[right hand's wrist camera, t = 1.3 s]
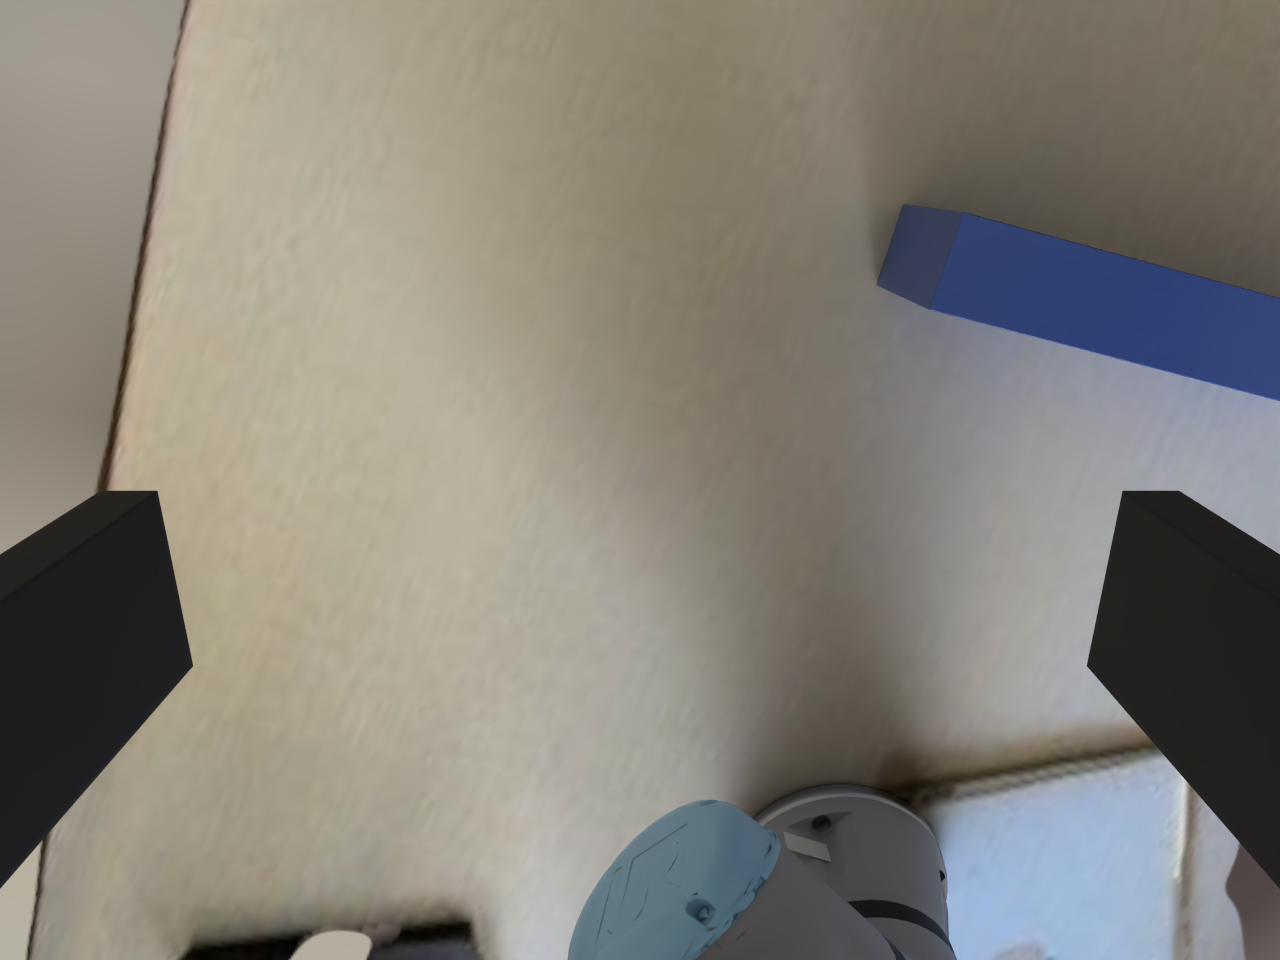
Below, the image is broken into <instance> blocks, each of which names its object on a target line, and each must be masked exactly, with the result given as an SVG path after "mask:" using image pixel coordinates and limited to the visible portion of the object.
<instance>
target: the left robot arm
mask: <svg viewBox="0 0 1280 960" xmlns="http://www.w3.org/2000/svg"><path fill="white" fill-rule="evenodd" d="M946 898H947V874H946V869H945V865H944V861H943V857H942V853H941V851H940V848H939V846H938V844H937V841H936V839H935V837H934V835H933V833H932V831H931V829H930V827H929V826H928V824H927V823H926V821H925V820H924V819H923V817H922V816H921V815H920V814H919V813H918V812H917V811H916V810H915V809H914V808H912V807H911V806H910V805H909V804H907V803H906V802H904V801H903V800H901V799H899V798H897V797H896V796H894V795H891V794H889V793H887V792H884V791H881V790H878V789H875V788H871V787H866V786H860V785H849V784H834V785H824V786H818V787H813V788H809V789H805V790H802V791H799V792H796V793H793V794H791V795H789V796H786V797H784V798H782V799H780V800H779V801H777V802H775V803H773V804H772V805H770V806H769V807H767V808H766V809H764V810H763V811H762V812H761V813H760V814H758V815H757V816H756V817H755V818H754V819H752V818H751V817H750V816H749V815H747V814H746V813H745V812H744V811H742V810H741V809H740V808H738V807H737V806H735V805H733V804H731V803H724V802H719V801H716V800H701V801H696V802H693V803H690V804H687V805H684V806H681V807H679V808H677V809H675V810H673V811H671V812H669V813H668V814H666V815H664V816H663V817H661V818H660V819H658V820H657V821H655V822H654V823H653V824H652V825H650V826H649V827H648V828H647V829H645V830H644V831H643V832H642V833H641V834H639V835H638V836H637V837H636V838H635V839H634V840H633V841H632V842H631V843H630V844H629V845H628V846H627V847H626V848H625V849H624V850H623V851H622V852H621V854H620V855H619V856H618V857H617V858H616V859H615V861H614V862H613V863H612V865H611V866H610V867H609V869H608V870H607V871H606V872H605V873H604V875H603V876H602V878H601V879H600V880H599V882H598V884H597V885H596V887H595V888H594V890H593V891H592V893H591V895H590V896H589V898H588V900H587V902H586V904H585V906H584V908H583V909H582V912H581V914H580V916H579V918H578V921H577V923H576V926H575V929H574V932H573V935H572V938H571V942H570V947H569V953H568V960H957V959H956V956H955V954H954V951H953V949H952V946H951V944H950V941H949V932H948V910H947V904H946Z"/></svg>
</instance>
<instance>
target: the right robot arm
mask: <svg viewBox="0 0 1280 960" xmlns="http://www.w3.org/2000/svg"><path fill="white" fill-rule="evenodd" d="M192 667H193V663H192V658H191V653H190V648H189V643H188V638H187V634H186V629H185V624H184V619H183V614H182V609H181V604H180V599H179V594H178V589H177V585H176V580H175V575H174V570H173V565H172V560H171V555H170V550H169V545H168V541H167V536H166V531H165V526H164V521H163V516H162V511H161V506H160V501H159V497H158V492H157V491H100V492H98V493H97V494H95V495H94V496H92V497H90V498H89V499H87V500H86V501H84V502H83V503H81V504H79V505H78V506H76V507H75V508H73V509H72V510H70V511H68V512H67V513H65V514H64V515H62V516H60V517H59V518H57V519H56V520H54V521H53V522H51V523H49V524H48V525H46V526H45V527H43V528H41V529H40V530H38V531H37V532H35V533H33V534H32V535H30V536H29V537H27V538H26V539H24V540H22V541H21V542H19V543H18V544H16V545H15V546H13V547H11V548H10V549H8V550H7V551H5V552H3V553H2V554H0V888H1V887H2V886H3V885H4V884H5V882H6V881H7V880H8V879H9V878H10V877H11V876H12V874H13V873H14V872H15V871H16V870H17V869H18V867H19V866H20V865H21V864H22V863H23V862H24V861H25V859H26V858H27V857H28V856H29V855H30V854H31V852H32V851H33V850H34V849H35V848H36V847H37V845H38V844H39V843H40V842H41V841H42V840H43V839H44V837H45V836H46V835H47V834H48V833H49V832H50V831H51V829H52V828H53V827H54V826H55V825H56V824H57V822H58V821H59V820H60V819H61V818H62V817H63V816H64V814H65V813H66V812H67V811H68V810H69V809H70V807H71V806H72V805H73V804H74V803H75V802H76V801H77V799H78V798H79V797H80V796H81V795H82V794H83V792H84V791H85V790H86V789H87V788H88V787H89V786H90V784H91V783H92V782H93V781H94V780H95V779H96V777H97V776H98V775H99V774H100V773H101V772H102V771H103V769H104V768H105V767H106V766H107V765H108V764H109V762H110V761H111V760H112V759H113V758H114V757H115V756H116V754H117V753H118V752H119V751H120V750H121V749H122V747H123V746H124V745H125V744H126V743H127V742H128V741H129V739H130V738H131V737H132V736H133V735H134V734H135V732H136V731H137V730H138V729H139V728H140V727H141V726H142V724H143V723H144V722H145V721H146V720H147V719H148V717H149V716H150V715H151V714H152V713H153V712H154V711H155V709H156V708H157V707H158V706H159V705H160V704H161V702H162V701H163V700H164V699H165V698H166V697H167V696H168V694H169V693H170V692H171V691H172V690H173V689H174V687H175V686H176V685H177V684H178V683H179V682H180V681H181V679H182V678H183V677H184V676H185V675H186V674H187V672H188V671H189V670H190V669H191V668H192ZM1087 667H1088V668H1089V669H1090V670H1091V671H1092V672H1093V674H1094V675H1095V676H1096V677H1097V678H1098V679H1099V681H1100V682H1101V683H1102V684H1103V685H1104V686H1105V687H1106V689H1107V690H1108V691H1109V692H1110V693H1111V694H1112V696H1113V697H1114V698H1115V699H1116V700H1117V701H1118V702H1119V704H1120V705H1121V706H1122V707H1123V708H1124V709H1125V711H1126V712H1127V713H1128V714H1129V715H1130V716H1131V717H1132V719H1133V720H1134V721H1135V722H1136V723H1137V724H1138V726H1139V727H1140V728H1141V729H1142V730H1143V731H1144V732H1145V734H1146V735H1147V736H1148V737H1149V738H1150V739H1151V741H1152V742H1153V743H1154V744H1155V745H1156V746H1157V747H1158V749H1159V750H1160V751H1161V752H1162V753H1163V754H1164V756H1165V757H1166V758H1167V759H1168V760H1169V761H1170V762H1171V764H1172V765H1173V766H1174V767H1175V768H1176V769H1177V771H1178V772H1179V773H1180V774H1181V775H1182V776H1183V777H1184V779H1185V780H1186V781H1187V782H1188V783H1189V784H1190V786H1191V787H1192V788H1193V789H1194V790H1195V791H1196V792H1197V794H1198V795H1199V796H1200V797H1201V798H1202V799H1203V801H1204V802H1205V803H1206V804H1207V805H1208V806H1209V807H1210V809H1211V810H1212V811H1213V812H1214V813H1215V814H1216V816H1217V817H1218V818H1219V819H1220V820H1221V821H1222V822H1223V824H1224V825H1225V826H1226V827H1227V828H1228V829H1229V831H1230V832H1231V833H1232V834H1233V835H1234V836H1235V837H1236V839H1237V840H1238V841H1239V842H1240V843H1241V844H1242V846H1243V847H1244V848H1245V849H1246V850H1247V851H1248V852H1249V854H1250V855H1251V856H1252V857H1253V858H1254V859H1255V861H1256V862H1257V863H1258V864H1259V865H1260V866H1261V867H1262V869H1263V870H1264V871H1265V872H1266V873H1267V874H1268V876H1269V877H1270V878H1271V879H1272V880H1273V881H1274V882H1275V884H1276V885H1277V886H1278V887H1279V888H1280V554H1278V553H1277V552H1275V551H1273V550H1272V549H1270V548H1269V547H1267V546H1265V545H1264V544H1262V543H1261V542H1259V541H1258V540H1256V539H1254V538H1253V537H1251V536H1250V535H1248V534H1247V533H1245V532H1243V531H1242V530H1240V529H1239V528H1237V527H1235V526H1234V525H1232V524H1231V523H1229V522H1228V521H1226V520H1224V519H1223V518H1221V517H1220V516H1218V515H1216V514H1215V513H1213V512H1212V511H1210V510H1209V509H1207V508H1205V507H1204V506H1202V505H1201V504H1199V503H1197V502H1196V501H1194V500H1193V499H1191V498H1190V497H1188V496H1186V495H1185V494H1183V493H1182V492H1180V491H1123V492H1122V497H1121V501H1120V506H1119V511H1118V516H1117V521H1116V526H1115V531H1114V536H1113V541H1112V545H1111V550H1110V555H1109V560H1108V565H1107V570H1106V575H1105V580H1104V585H1103V589H1102V594H1101V599H1100V604H1099V609H1098V614H1097V619H1096V624H1095V629H1094V634H1093V638H1092V643H1091V648H1090V653H1089V658H1088V663H1087Z"/></svg>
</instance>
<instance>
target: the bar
mask: <svg viewBox="0 0 1280 960" xmlns="http://www.w3.org/2000/svg"><path fill="white" fill-rule="evenodd" d="M877 285H878V286H880V287H882V288H884V289H886V290H888V291H891V292H893V293H895V294H897V295H899V296H901V297H903V298H905V299H907V300H910V301H912V302H914V303H916V304H918V305H920V306H922V307H924V308H927V309H929V310H932V311H936V312H939V313H943V314H947V315H951V316H955V317H959V318H963V319H966V320H970V321H974V322H978V323H982V324H986V325H989V326H993V327H997V328H1001V329H1005V330H1009V331H1012V332H1016V333H1020V334H1024V335H1028V336H1032V337H1036V338H1039V339H1043V340H1047V341H1051V342H1055V343H1059V344H1062V345H1066V346H1070V347H1074V348H1078V349H1082V350H1085V351H1089V352H1093V353H1097V354H1101V355H1105V356H1108V357H1112V358H1116V359H1120V360H1124V361H1128V362H1132V363H1135V364H1139V365H1143V366H1147V367H1151V368H1155V369H1158V370H1162V371H1166V372H1170V373H1174V374H1178V375H1181V376H1185V377H1189V378H1193V379H1197V380H1201V381H1204V382H1208V383H1212V384H1216V385H1220V386H1224V387H1228V388H1231V389H1235V390H1239V391H1243V392H1247V393H1251V394H1254V395H1258V396H1262V397H1266V398H1270V399H1274V400H1277V401H1280V298H1277V297H1274V296H1270V295H1266V294H1263V293H1259V292H1255V291H1252V290H1248V289H1244V288H1241V287H1237V286H1233V285H1229V284H1226V283H1222V282H1218V281H1215V280H1211V279H1207V278H1204V277H1200V276H1196V275H1193V274H1189V273H1185V272H1182V271H1178V270H1174V269H1171V268H1167V267H1163V266H1160V265H1156V264H1152V263H1149V262H1145V261H1141V260H1138V259H1134V258H1130V257H1127V256H1123V255H1119V254H1115V253H1112V252H1108V251H1104V250H1101V249H1097V248H1093V247H1090V246H1086V245H1082V244H1079V243H1075V242H1071V241H1068V240H1064V239H1060V238H1057V237H1053V236H1049V235H1046V234H1042V233H1038V232H1035V231H1031V230H1027V229H1024V228H1020V227H1016V226H1013V225H1009V224H1005V223H1001V222H998V221H994V220H990V219H987V218H983V217H979V216H976V215H972V214H968V213H965V212H957V211H950V210H942V209H934V208H926V207H919V206H911V205H903V207H902V210H901V213H900V216H899V219H898V222H897V225H896V228H895V231H894V234H893V237H892V240H891V243H890V246H889V249H888V252H887V255H886V258H885V261H884V264H883V267H882V270H881V273H880V276H879V279H878V282H877Z"/></svg>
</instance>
